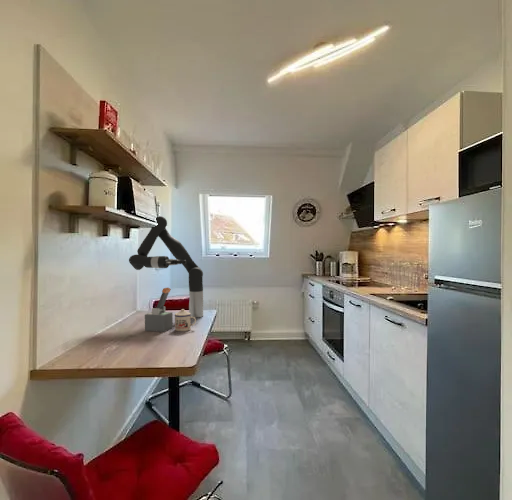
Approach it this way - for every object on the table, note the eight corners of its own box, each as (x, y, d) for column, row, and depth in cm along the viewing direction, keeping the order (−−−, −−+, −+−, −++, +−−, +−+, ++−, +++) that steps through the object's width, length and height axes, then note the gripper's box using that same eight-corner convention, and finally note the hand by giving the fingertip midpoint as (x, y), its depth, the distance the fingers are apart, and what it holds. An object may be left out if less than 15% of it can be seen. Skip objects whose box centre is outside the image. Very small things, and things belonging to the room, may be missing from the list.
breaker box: (144, 330, 202) (144, 308, 202) (154, 327, 211) (153, 305, 211) (164, 331, 199) (163, 309, 199) (172, 327, 208) (172, 306, 208)
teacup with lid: (173, 331, 198) (172, 310, 198) (176, 328, 207) (176, 308, 207) (194, 331, 198) (194, 310, 198) (197, 327, 207) (197, 307, 208)
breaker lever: (153, 311, 203) (163, 288, 201) (158, 310, 208) (167, 287, 206) (157, 313, 202) (166, 290, 201) (162, 312, 207) (171, 289, 206)
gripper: (154, 256, 216) (180, 256, 212) (165, 255, 229) (190, 255, 225) (154, 268, 216) (180, 268, 212) (165, 267, 229) (190, 267, 225)
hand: (185, 262), depth 218 cm, fingers closed
